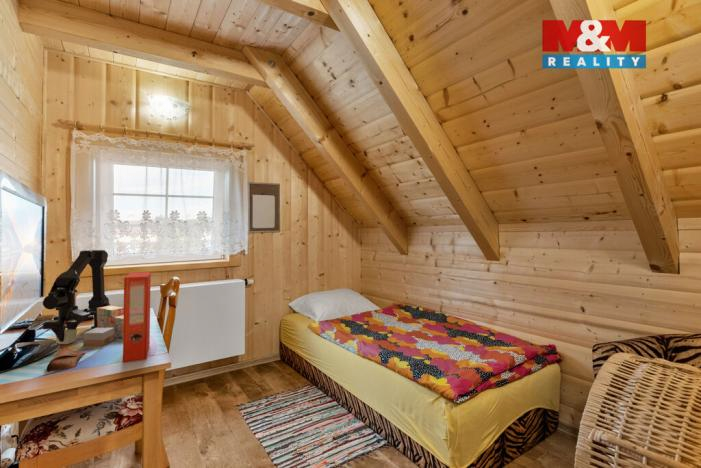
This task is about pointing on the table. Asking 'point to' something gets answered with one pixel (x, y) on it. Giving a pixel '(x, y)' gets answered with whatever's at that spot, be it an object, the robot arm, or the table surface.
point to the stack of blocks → (111, 319)
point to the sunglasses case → (65, 360)
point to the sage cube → (68, 336)
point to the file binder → (136, 316)
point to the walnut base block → (98, 341)
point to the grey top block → (98, 333)
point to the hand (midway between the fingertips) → (66, 339)
